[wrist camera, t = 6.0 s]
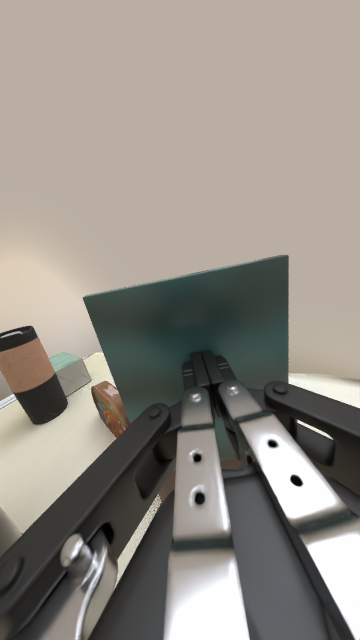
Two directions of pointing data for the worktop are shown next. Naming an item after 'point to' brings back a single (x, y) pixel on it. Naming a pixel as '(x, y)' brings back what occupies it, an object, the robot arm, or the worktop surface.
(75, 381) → the box
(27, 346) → the travel mug
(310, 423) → the robot arm
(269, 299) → the lid
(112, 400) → the tin
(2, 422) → the worktop surface
